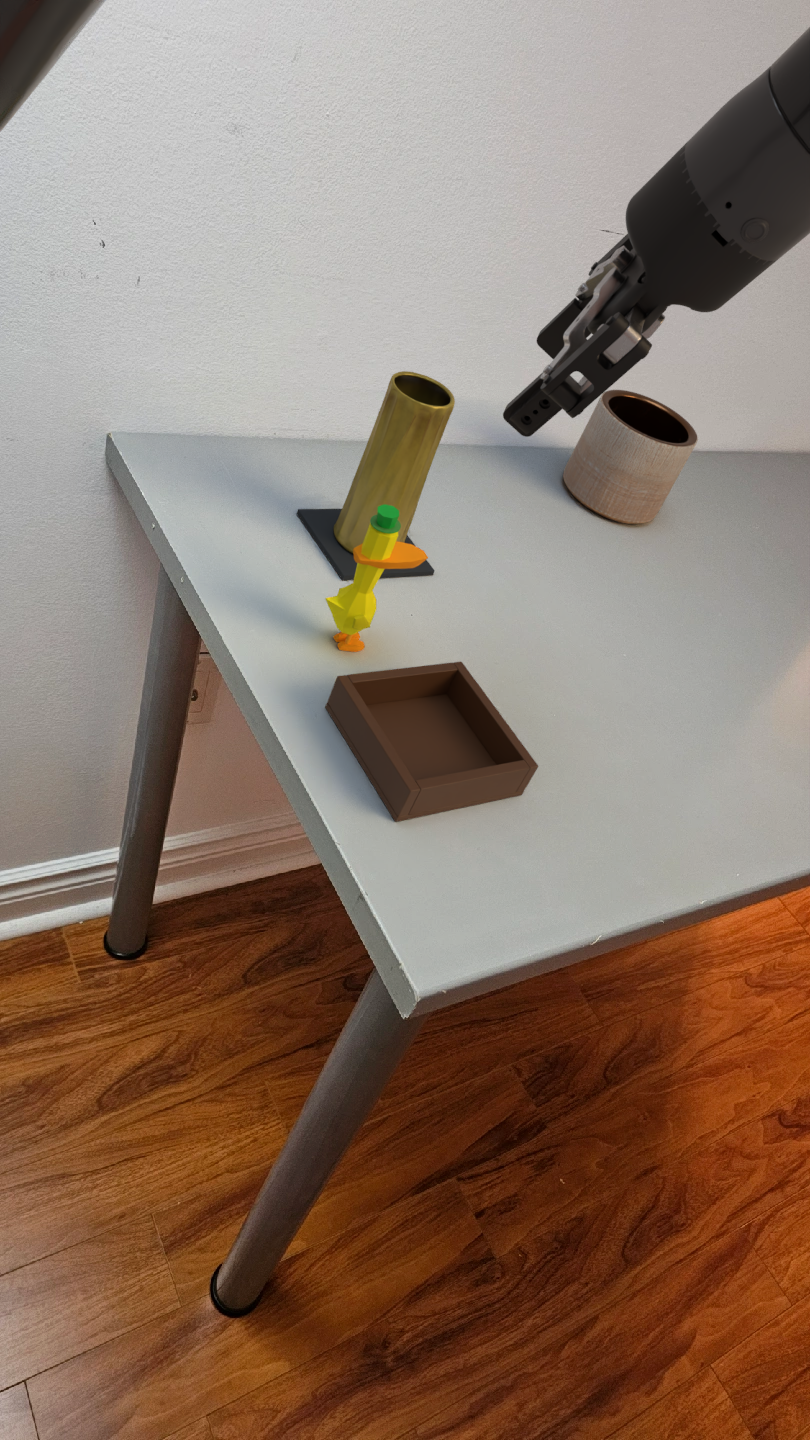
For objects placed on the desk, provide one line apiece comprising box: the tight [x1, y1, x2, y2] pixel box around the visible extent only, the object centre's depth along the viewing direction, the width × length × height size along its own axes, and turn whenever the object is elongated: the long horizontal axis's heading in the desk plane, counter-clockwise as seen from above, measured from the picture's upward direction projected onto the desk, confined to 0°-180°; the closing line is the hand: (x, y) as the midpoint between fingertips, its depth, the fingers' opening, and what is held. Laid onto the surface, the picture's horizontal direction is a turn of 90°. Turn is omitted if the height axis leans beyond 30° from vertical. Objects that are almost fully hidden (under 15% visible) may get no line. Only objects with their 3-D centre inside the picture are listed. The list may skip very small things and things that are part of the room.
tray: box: [324, 661, 539, 823], centre depth 72 cm, size 11×11×3 cm
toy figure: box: [324, 504, 429, 653], centre depth 75 cm, size 7×4×12 cm, turn 114°
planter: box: [562, 389, 699, 525], centre depth 109 cm, size 11×11×10 cm
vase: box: [334, 370, 456, 554], centre depth 85 cm, size 6×6×14 cm
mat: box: [296, 508, 436, 581], centre depth 90 cm, size 9×9×1 cm
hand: (531, 385), depth 66 cm, fingers open, 8 cm apart
